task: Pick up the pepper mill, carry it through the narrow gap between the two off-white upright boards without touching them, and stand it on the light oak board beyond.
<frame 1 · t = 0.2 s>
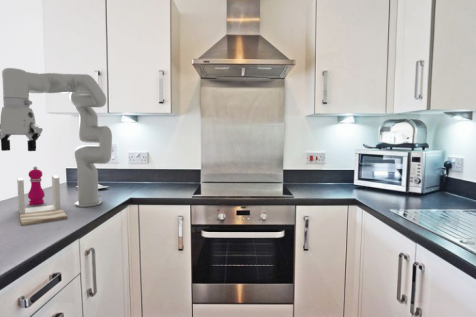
hand: (18, 150, 103), 31 cm above the countertop, tool pointing down, fingers open, 9 cm apart
gate: (39, 209, 137), on the countertop
oak board: (43, 217, 125), on the countertop
pepper mill: (36, 203, 149), on the countertop
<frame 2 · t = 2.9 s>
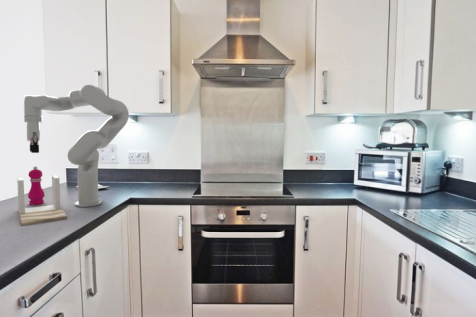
hand: (34, 152, 147), 28 cm above the countertop, tool pointing down, fingers open, 9 cm apart
nothing on the countertop moved.
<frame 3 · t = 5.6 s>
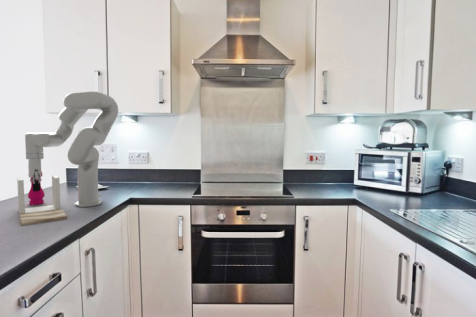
hand: (36, 189, 148), 8 cm above the countertop, tool pointing down, fingers closed on pepper mill, 5 cm apart
pepper mill: (36, 203, 149), on the countertop, touching gripper
everything else where it was.
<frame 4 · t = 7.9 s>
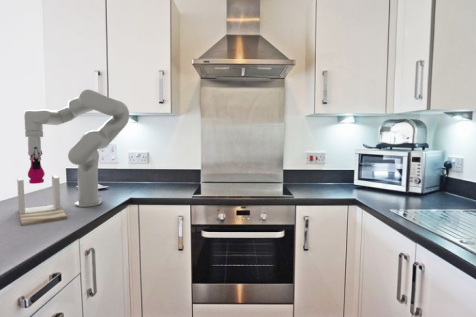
hand: (36, 168, 147), 19 cm above the countertop, tool pointing down, fingers closed on pepper mill, 5 cm apart
pepper mill: (36, 183, 147), point 11 cm above the countertop, touching gripper
everything else where it was.
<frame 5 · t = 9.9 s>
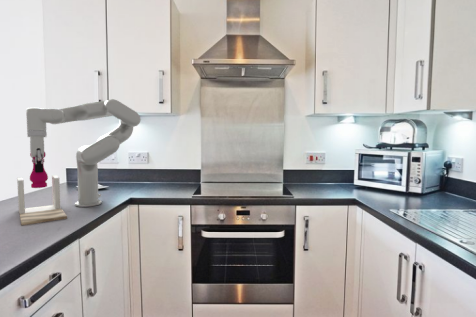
hand: (38, 171, 134), 19 cm above the countertop, tool pointing down, fingers closed on pepper mill, 5 cm apart
pepper mill: (39, 187, 135), point 11 cm above the countertop, touching gripper
everything else where it was.
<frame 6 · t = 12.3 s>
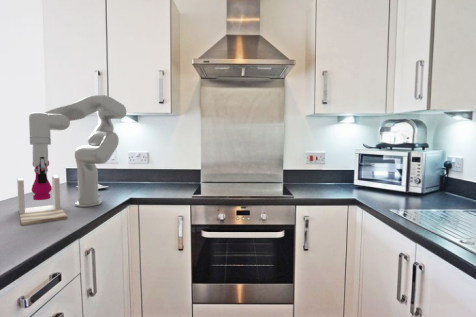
hand: (41, 181, 123), 16 cm above the countertop, tool pointing down, fingers closed on pepper mill, 5 cm apart
pepper mill: (42, 199, 124), point 8 cm above the countertop, touching gripper
everything else where it was.
when the fingers open (10 cm above the countertop, at t = 14.1 s): pepper mill drops 1 cm, resting on oak board.
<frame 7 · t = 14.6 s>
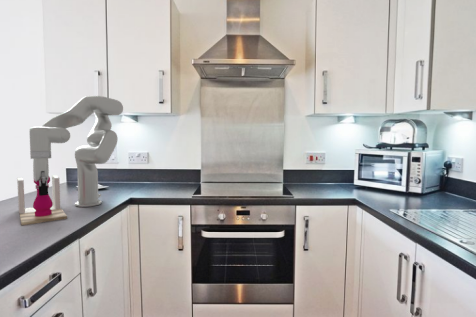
hand: (42, 193, 124), 11 cm above the countertop, tool pointing down, fingers open, 9 cm apart
pepper mill: (43, 215, 125), point 1 cm above the countertop, touching oak board
everything else where it was.
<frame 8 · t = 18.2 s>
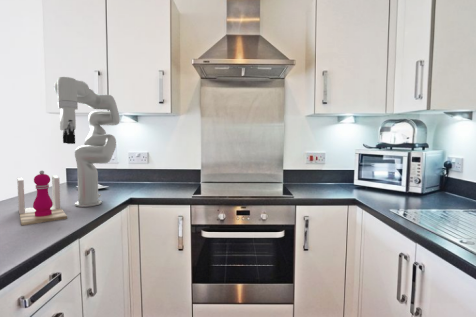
hand: (69, 143, 127), 33 cm above the countertop, tool pointing down, fingers open, 9 cm apart
nothing on the countertop moved.
at the end: pepper mill inside the target area on the oak board (0.2 cm from its centre), point 1.0 cm above the oak board's base; pepper mill tilted 0°; gate moved 0.0 cm from its start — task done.
